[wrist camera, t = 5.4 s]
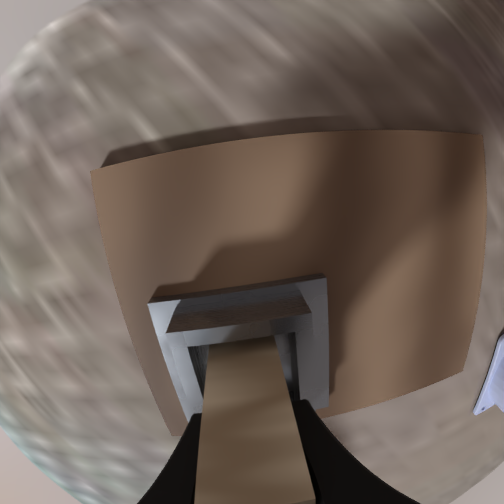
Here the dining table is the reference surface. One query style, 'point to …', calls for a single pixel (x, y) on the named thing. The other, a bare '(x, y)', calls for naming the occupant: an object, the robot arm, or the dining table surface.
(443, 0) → the dining table surface
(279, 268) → the walnut board
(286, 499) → the tan wooden block
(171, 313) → the grey square socket
